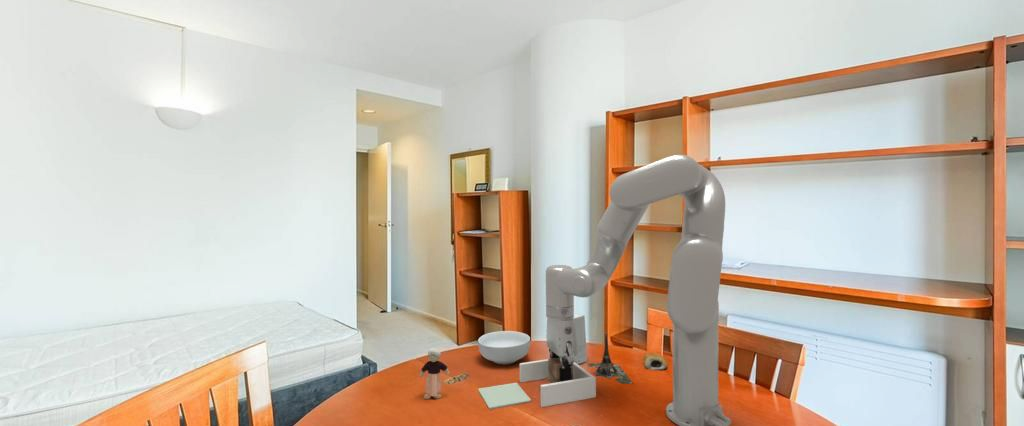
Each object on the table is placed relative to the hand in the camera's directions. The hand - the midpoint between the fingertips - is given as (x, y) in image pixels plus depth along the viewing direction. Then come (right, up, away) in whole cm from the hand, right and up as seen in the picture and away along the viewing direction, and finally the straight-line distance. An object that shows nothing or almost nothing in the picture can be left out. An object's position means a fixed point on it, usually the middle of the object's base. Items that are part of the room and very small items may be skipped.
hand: (560, 377), depth 108 cm
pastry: (+31, -3, +15) cm, 35 cm away
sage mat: (-15, -3, -4) cm, 16 cm away
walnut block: (0, -2, 0) cm, 2 cm away
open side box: (-2, -3, -1) cm, 3 cm away
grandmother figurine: (-33, -3, -4) cm, 34 cm away
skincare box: (+6, -3, +20) cm, 21 cm away
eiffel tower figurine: (+15, -3, +9) cm, 18 cm away
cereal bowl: (-16, -3, +21) cm, 27 cm away
